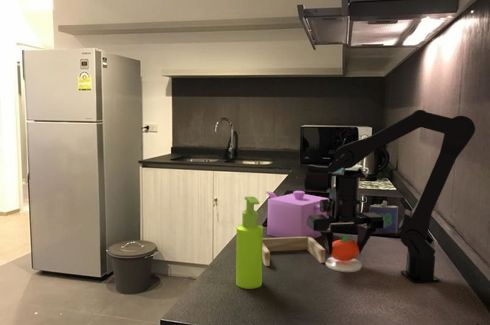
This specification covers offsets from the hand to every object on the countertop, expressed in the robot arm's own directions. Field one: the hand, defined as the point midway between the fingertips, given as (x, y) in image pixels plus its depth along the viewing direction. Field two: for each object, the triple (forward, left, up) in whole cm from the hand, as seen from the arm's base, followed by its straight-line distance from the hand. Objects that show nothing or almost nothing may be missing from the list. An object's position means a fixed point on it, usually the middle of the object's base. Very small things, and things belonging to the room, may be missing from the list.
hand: (344, 254), depth 106 cm
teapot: (+29, +4, -3) cm, 30 cm away
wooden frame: (+9, +12, -3) cm, 15 cm away
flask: (+26, -25, -3) cm, 36 cm away
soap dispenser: (-8, +26, -3) cm, 27 cm away
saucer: (0, 0, -3) cm, 3 cm away
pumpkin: (0, 0, -2) cm, 2 cm away
